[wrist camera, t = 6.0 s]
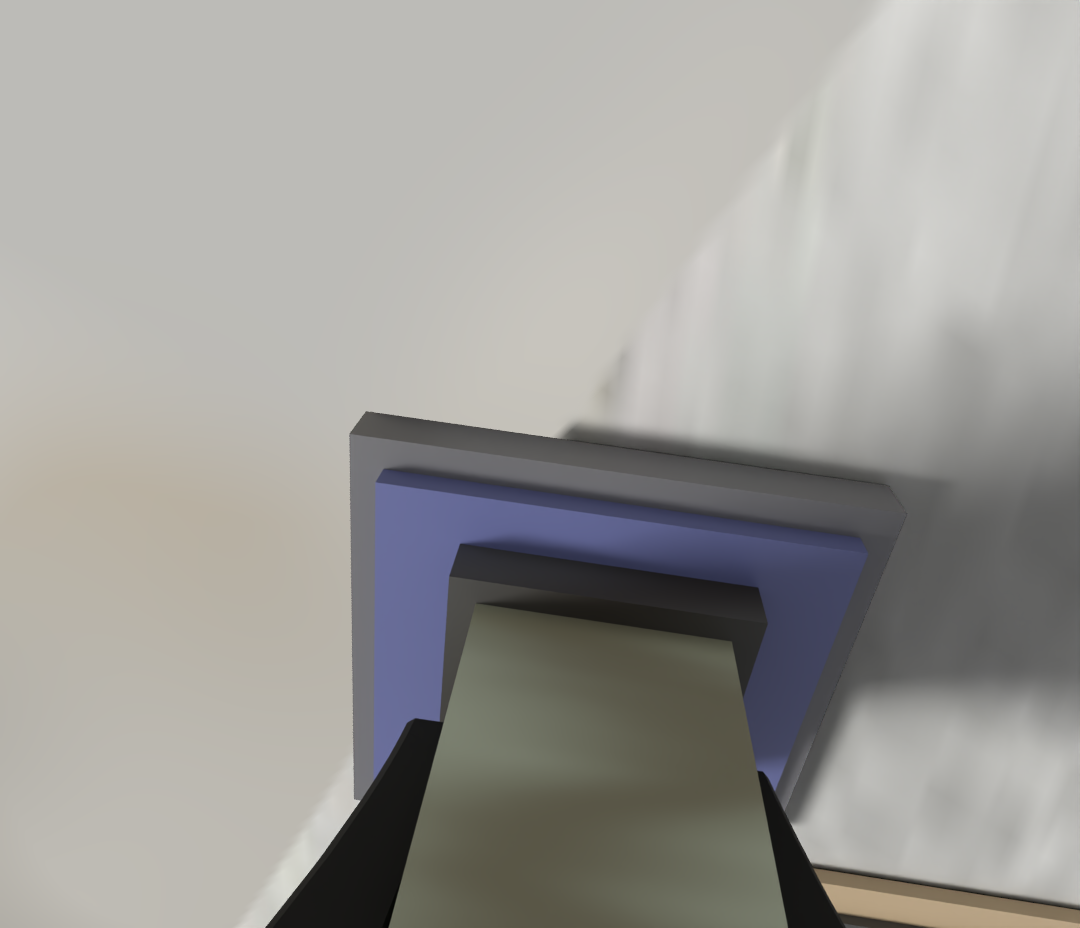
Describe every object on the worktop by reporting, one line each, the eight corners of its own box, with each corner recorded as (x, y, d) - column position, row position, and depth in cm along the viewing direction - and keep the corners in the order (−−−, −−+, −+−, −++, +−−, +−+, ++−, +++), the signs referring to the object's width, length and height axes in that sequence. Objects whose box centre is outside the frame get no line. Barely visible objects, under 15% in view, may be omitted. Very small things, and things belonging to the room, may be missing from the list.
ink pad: (889, 485, 11) (916, 529, 10) (756, 826, 15) (766, 883, 14) (366, 411, 11) (340, 446, 10) (366, 765, 15) (347, 817, 14)
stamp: (758, 587, 11) (968, 1372, 4) (694, 788, 13) (772, 1520, 6) (460, 543, 11) (227, 1238, 4) (445, 749, 13) (271, 1426, 7)
